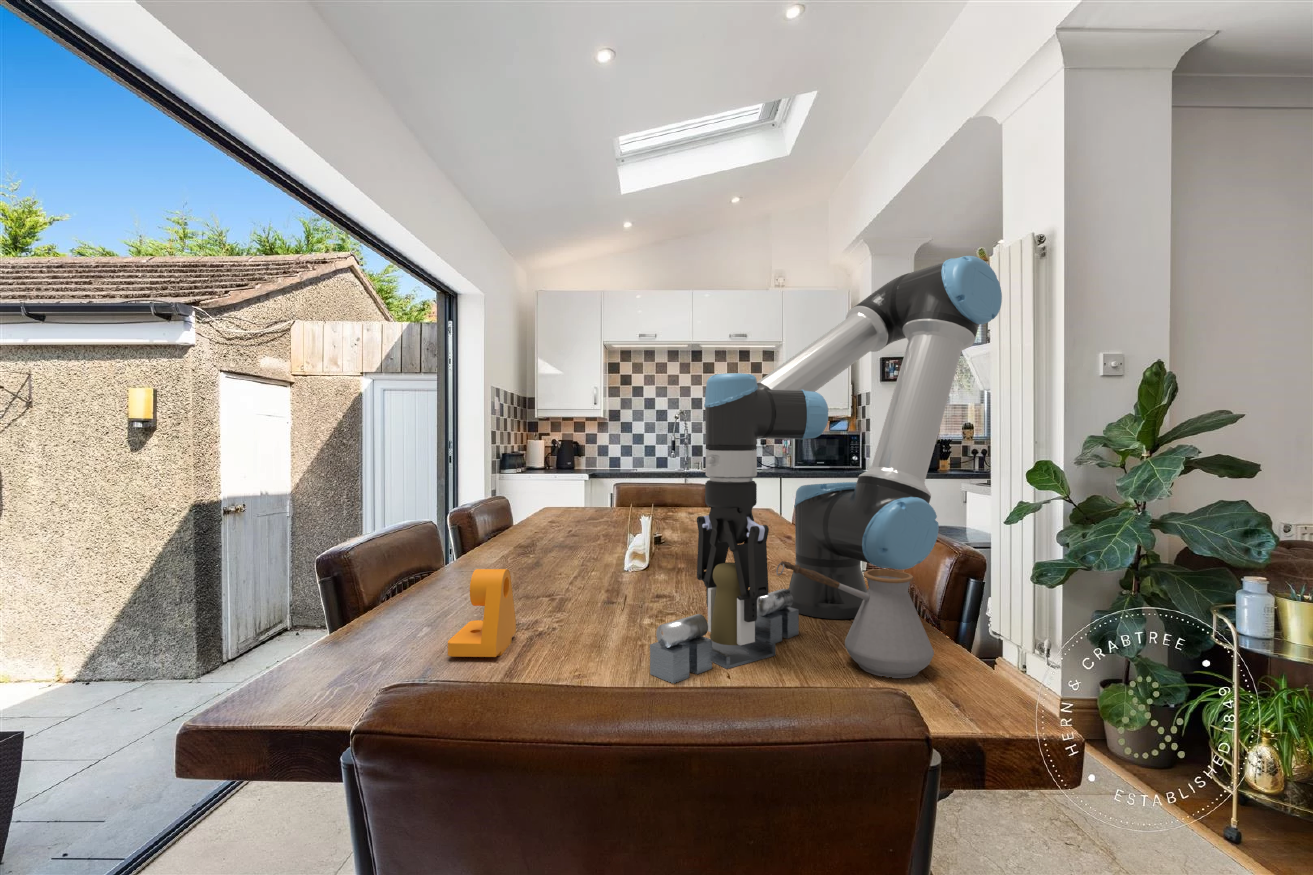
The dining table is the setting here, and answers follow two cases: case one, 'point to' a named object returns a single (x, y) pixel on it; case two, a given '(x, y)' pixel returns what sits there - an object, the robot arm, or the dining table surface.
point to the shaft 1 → (681, 649)
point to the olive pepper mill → (725, 604)
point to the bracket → (487, 617)
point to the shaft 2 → (776, 617)
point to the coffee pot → (882, 624)
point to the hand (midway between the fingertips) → (730, 636)
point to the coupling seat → (742, 653)
